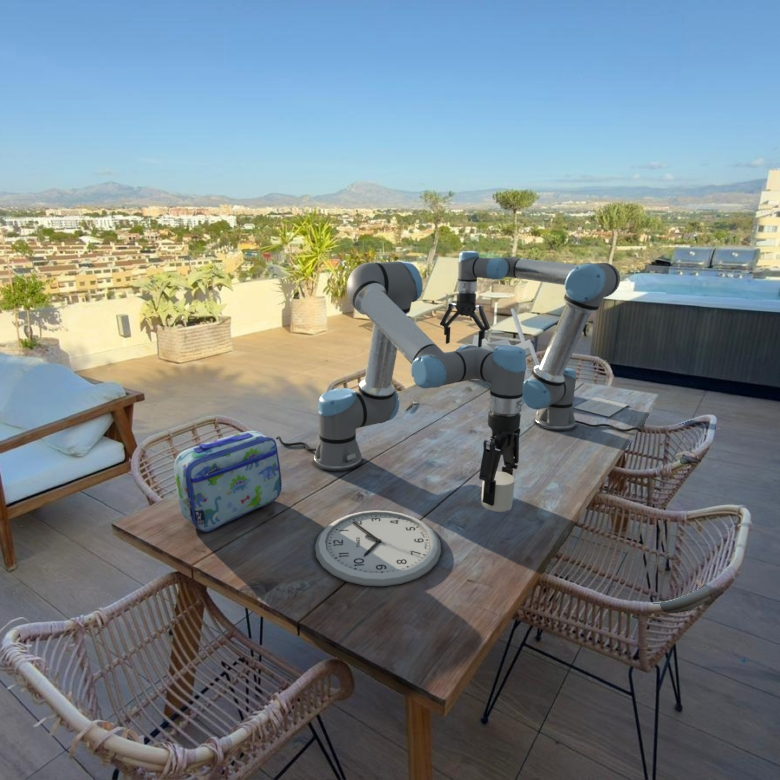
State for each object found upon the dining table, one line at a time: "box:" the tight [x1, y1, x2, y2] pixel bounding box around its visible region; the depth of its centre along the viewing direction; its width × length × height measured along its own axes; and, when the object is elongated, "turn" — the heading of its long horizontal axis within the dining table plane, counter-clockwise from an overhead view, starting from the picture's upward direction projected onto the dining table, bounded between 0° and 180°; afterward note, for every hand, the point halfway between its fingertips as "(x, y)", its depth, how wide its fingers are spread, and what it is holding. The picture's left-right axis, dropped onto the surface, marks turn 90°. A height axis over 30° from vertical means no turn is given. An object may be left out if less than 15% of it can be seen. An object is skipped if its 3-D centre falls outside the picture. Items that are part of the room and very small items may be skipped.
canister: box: [480, 470, 515, 513], centre depth 130 cm, size 8×8×7 cm
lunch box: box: [173, 430, 283, 533], centre depth 135 cm, size 26×11×21 cm, turn 134°
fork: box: [405, 396, 421, 411], centre depth 222 cm, size 3×16×2 cm, turn 160°
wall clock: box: [314, 509, 442, 587], centre depth 125 cm, size 30×2×30 cm
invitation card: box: [573, 396, 629, 418], centre depth 226 cm, size 21×1×15 cm
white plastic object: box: [471, 307, 540, 380], centre depth 255 cm, size 37×45×31 cm
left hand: (497, 497), depth 131 cm, fingers closed on canister, 8 cm apart
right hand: (463, 345), depth 212 cm, fingers open, 13 cm apart
